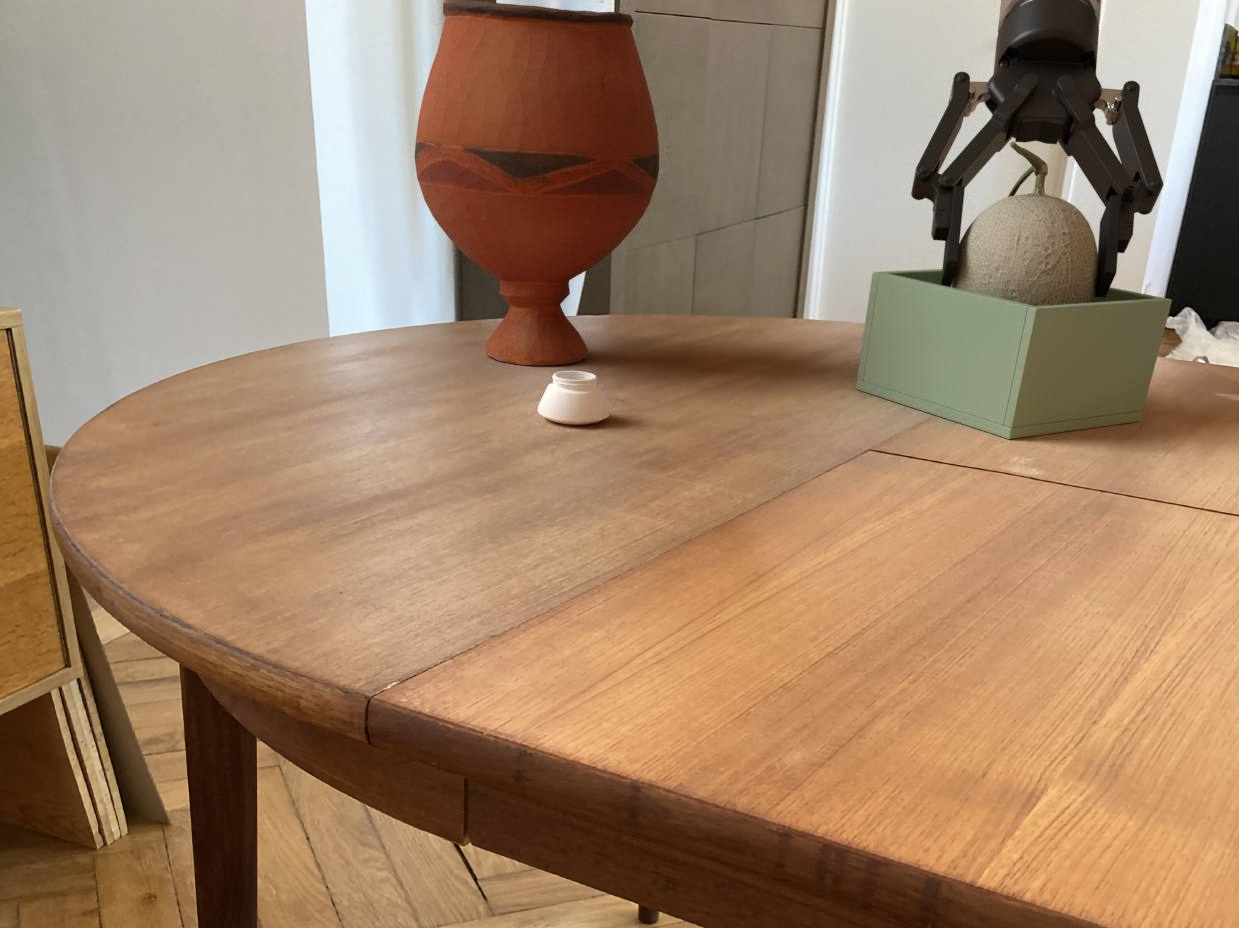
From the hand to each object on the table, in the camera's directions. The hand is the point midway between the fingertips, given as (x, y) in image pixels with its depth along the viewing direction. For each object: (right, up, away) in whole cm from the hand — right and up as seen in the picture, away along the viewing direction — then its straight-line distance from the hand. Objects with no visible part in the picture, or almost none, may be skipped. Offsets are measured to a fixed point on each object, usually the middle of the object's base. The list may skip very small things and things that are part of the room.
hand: (1026, 279), depth 91 cm
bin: (0, -7, +8) cm, 10 cm away
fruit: (0, -4, +6) cm, 7 cm away
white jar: (-33, -11, -3) cm, 35 cm away
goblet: (-37, 0, +15) cm, 40 cm away
